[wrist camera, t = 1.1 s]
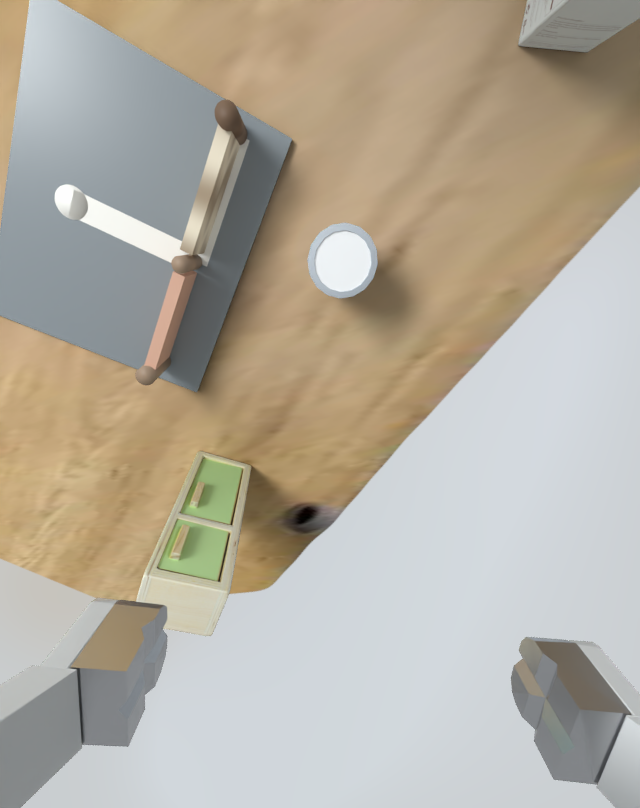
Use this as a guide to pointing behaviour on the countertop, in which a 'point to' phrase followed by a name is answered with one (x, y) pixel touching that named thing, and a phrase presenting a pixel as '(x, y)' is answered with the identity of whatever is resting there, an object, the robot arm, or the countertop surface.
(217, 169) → the fixed fence panel
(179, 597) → the toy refrigerator
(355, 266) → the white cup
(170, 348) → the hinged fence panel
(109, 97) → the card
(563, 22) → the supplement box
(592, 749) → the robot arm
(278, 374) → the countertop surface
